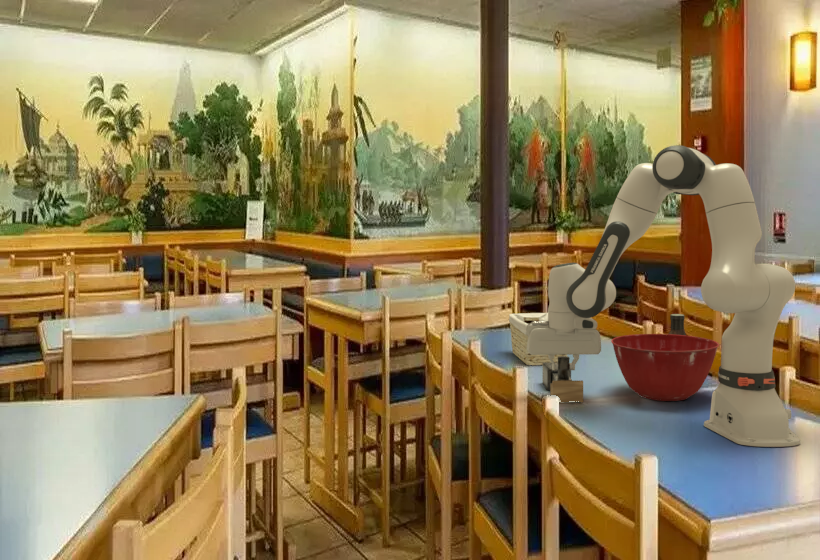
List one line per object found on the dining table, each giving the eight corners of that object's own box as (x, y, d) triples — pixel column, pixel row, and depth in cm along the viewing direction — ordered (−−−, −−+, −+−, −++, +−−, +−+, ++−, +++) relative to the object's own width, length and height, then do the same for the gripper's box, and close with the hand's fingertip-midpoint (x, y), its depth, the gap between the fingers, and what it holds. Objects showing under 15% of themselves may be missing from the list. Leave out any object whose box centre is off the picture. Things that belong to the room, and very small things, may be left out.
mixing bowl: (590, 388, 216) (591, 336, 215) (671, 379, 226) (672, 329, 224) (652, 413, 190) (653, 354, 188) (741, 402, 199) (742, 345, 198)
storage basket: (571, 365, 247) (571, 322, 246) (523, 367, 246) (523, 323, 244) (551, 351, 271) (551, 312, 270) (507, 353, 270) (507, 313, 268)
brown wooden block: (583, 403, 200) (583, 381, 200) (552, 403, 201) (552, 381, 200) (580, 399, 204) (580, 377, 204) (550, 399, 205) (550, 378, 204)
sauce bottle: (688, 381, 223) (690, 316, 221) (667, 381, 224) (668, 316, 222) (685, 377, 229) (687, 313, 227) (664, 376, 230) (665, 313, 228)
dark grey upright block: (571, 394, 205) (572, 358, 204) (557, 394, 206) (557, 358, 205) (563, 383, 218) (563, 349, 217) (550, 383, 218) (550, 349, 217)
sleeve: (570, 390, 214) (571, 369, 214) (547, 390, 214) (547, 369, 214) (565, 382, 223) (565, 362, 223) (542, 383, 224) (542, 362, 223)
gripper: (527, 323, 203) (527, 372, 204) (603, 322, 202) (602, 372, 203) (525, 319, 209) (524, 367, 210) (597, 319, 208) (597, 367, 210)
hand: (563, 369), depth 207 cm, fingers closed on dark grey upright block, 3 cm apart
